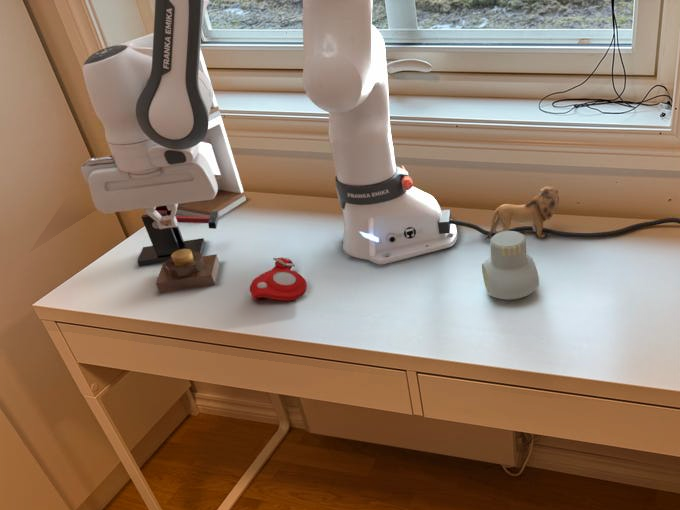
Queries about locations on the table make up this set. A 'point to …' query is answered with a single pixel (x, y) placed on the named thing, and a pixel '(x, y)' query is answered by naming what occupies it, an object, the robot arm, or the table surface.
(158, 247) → the black lever base
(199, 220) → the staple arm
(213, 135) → the display case
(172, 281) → the block
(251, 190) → the table surface
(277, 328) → the table surface
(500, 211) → the lion figurine
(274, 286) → the tracker holder
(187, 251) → the bell button
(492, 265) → the air freshener
